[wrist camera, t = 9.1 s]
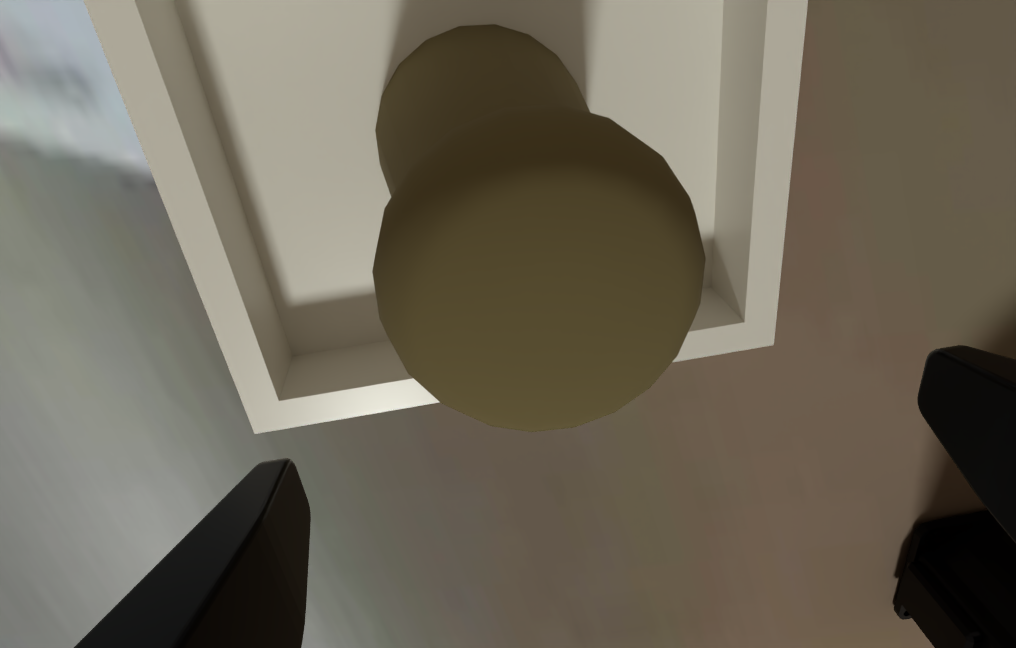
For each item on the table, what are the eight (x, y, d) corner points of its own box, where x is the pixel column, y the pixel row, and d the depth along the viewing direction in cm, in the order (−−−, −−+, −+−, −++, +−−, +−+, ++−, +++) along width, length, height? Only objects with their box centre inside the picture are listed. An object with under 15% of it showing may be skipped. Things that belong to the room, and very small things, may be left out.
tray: (753, -198, 16) (830, -236, 13) (726, 295, 23) (773, 344, 20) (104, -117, 16) (29, -137, 12) (276, 370, 22) (254, 434, 19)
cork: (377, 10, 17) (330, 70, 7) (605, 37, 18) (833, 123, 8) (373, 233, 19) (334, 492, 10) (569, 245, 20) (707, 492, 11)
